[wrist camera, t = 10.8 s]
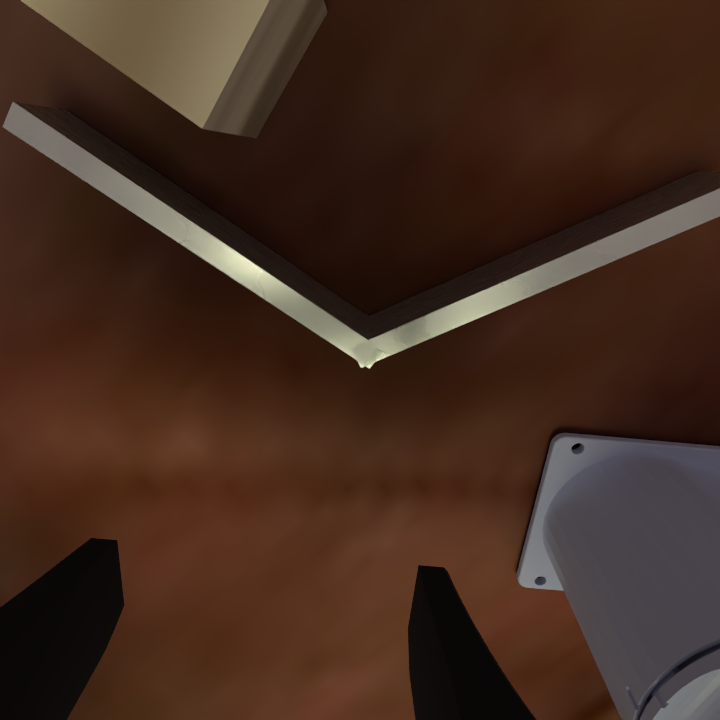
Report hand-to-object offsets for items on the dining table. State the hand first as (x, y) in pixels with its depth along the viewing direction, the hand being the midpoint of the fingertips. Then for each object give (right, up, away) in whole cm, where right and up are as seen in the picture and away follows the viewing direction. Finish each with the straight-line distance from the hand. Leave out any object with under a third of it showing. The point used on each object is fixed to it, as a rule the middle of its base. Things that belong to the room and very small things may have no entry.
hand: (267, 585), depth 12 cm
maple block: (-2, +16, +4) cm, 16 cm away
